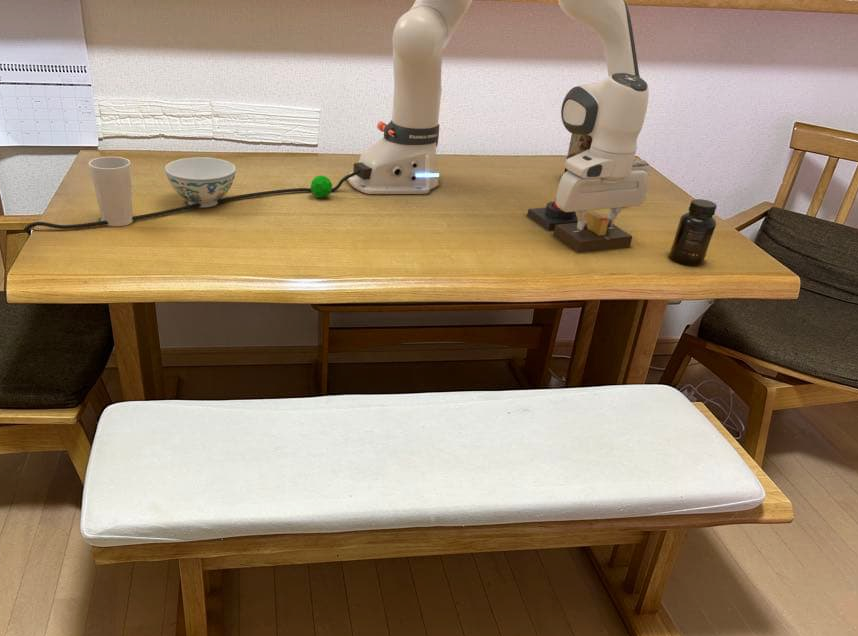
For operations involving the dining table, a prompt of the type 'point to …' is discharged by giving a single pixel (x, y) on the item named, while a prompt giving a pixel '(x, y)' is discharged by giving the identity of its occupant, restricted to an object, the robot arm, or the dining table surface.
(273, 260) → the dining table surface
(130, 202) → the cup
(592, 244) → the clock face plate
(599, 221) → the upright wooden block
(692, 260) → the supplement bottle
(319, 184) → the polyhedron
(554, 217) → the alarm box
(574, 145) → the coffee box
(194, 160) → the chinaware
